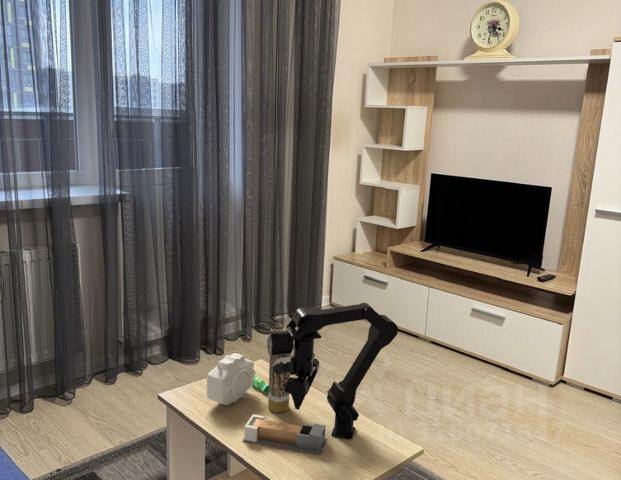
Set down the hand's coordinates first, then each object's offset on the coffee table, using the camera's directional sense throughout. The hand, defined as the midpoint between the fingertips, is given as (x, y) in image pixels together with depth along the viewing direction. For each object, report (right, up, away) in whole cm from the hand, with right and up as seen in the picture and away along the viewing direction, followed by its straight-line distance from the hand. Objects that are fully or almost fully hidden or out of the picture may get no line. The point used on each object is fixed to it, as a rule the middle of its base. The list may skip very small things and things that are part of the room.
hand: (301, 401), depth 172 cm
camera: (-23, -6, +23) cm, 33 cm away
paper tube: (-8, -8, +19) cm, 22 cm away
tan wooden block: (-8, -12, +2) cm, 14 cm away
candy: (-16, -4, +33) cm, 37 cm away
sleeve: (+3, -13, -1) cm, 13 cm away
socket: (-14, -11, +3) cm, 18 cm away
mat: (-5, -12, +1) cm, 13 cm away
